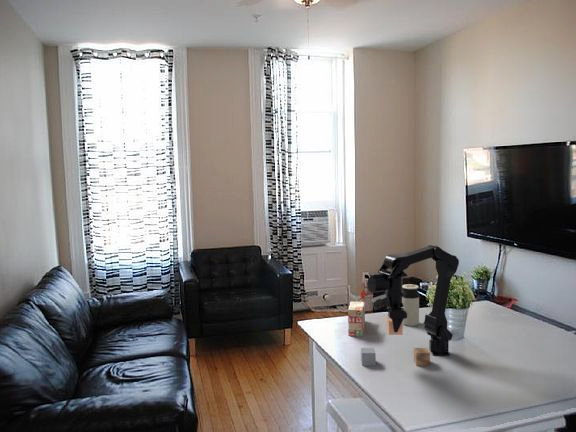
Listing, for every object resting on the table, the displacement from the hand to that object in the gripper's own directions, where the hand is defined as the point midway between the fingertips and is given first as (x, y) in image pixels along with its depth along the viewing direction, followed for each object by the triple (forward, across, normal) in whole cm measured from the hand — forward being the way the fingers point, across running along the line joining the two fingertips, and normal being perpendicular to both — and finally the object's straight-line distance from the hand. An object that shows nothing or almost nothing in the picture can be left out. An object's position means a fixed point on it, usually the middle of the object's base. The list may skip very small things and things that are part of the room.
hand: (394, 329), depth 179 cm
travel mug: (+13, -45, +14) cm, 49 cm away
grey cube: (+13, 0, -10) cm, 16 cm away
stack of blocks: (+13, -39, -11) cm, 43 cm away
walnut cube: (+13, 0, +10) cm, 16 cm away
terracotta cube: (+1, 0, 0) cm, 1 cm away
